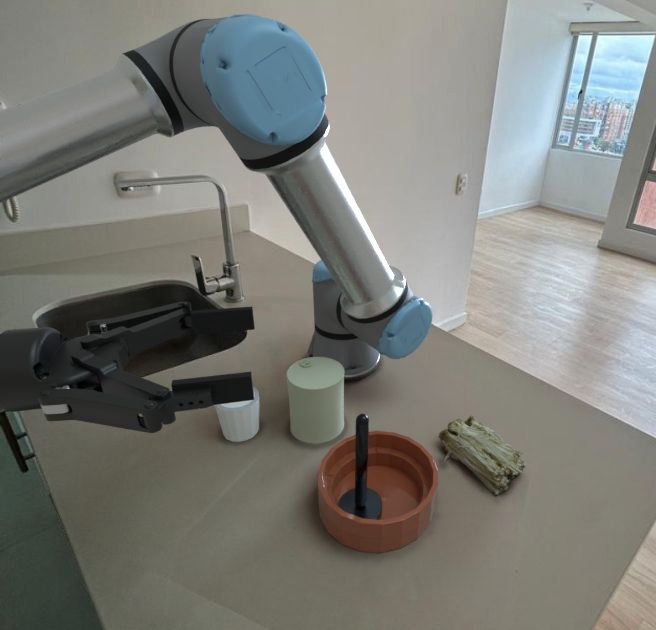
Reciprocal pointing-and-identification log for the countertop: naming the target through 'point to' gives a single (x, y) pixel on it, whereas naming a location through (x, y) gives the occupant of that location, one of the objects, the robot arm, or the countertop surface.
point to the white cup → (239, 418)
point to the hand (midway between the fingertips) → (253, 347)
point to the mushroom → (482, 453)
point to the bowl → (379, 492)
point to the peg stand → (361, 479)
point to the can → (316, 399)
